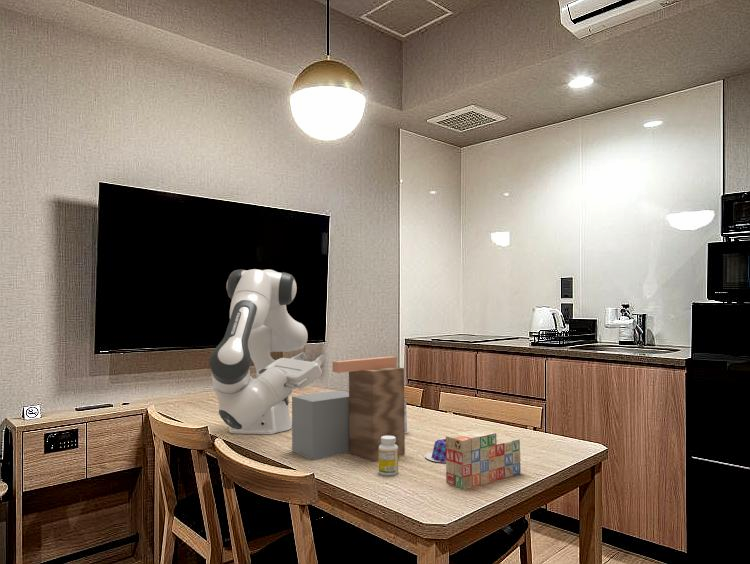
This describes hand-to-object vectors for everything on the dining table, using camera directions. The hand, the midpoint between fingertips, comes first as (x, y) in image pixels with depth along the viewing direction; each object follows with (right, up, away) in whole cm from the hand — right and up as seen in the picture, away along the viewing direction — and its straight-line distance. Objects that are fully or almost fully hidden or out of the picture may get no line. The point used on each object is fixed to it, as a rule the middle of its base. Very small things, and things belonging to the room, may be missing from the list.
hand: (314, 355), depth 159 cm
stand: (+18, -32, +13) cm, 38 cm away
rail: (+14, -6, +11) cm, 19 cm away
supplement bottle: (+21, -31, -6) cm, 38 cm away
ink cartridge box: (+24, -33, +36) cm, 54 cm away
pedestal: (+2, -32, +17) cm, 36 cm away
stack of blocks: (+46, -31, -11) cm, 56 cm away
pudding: (+38, -32, +8) cm, 50 cm away
